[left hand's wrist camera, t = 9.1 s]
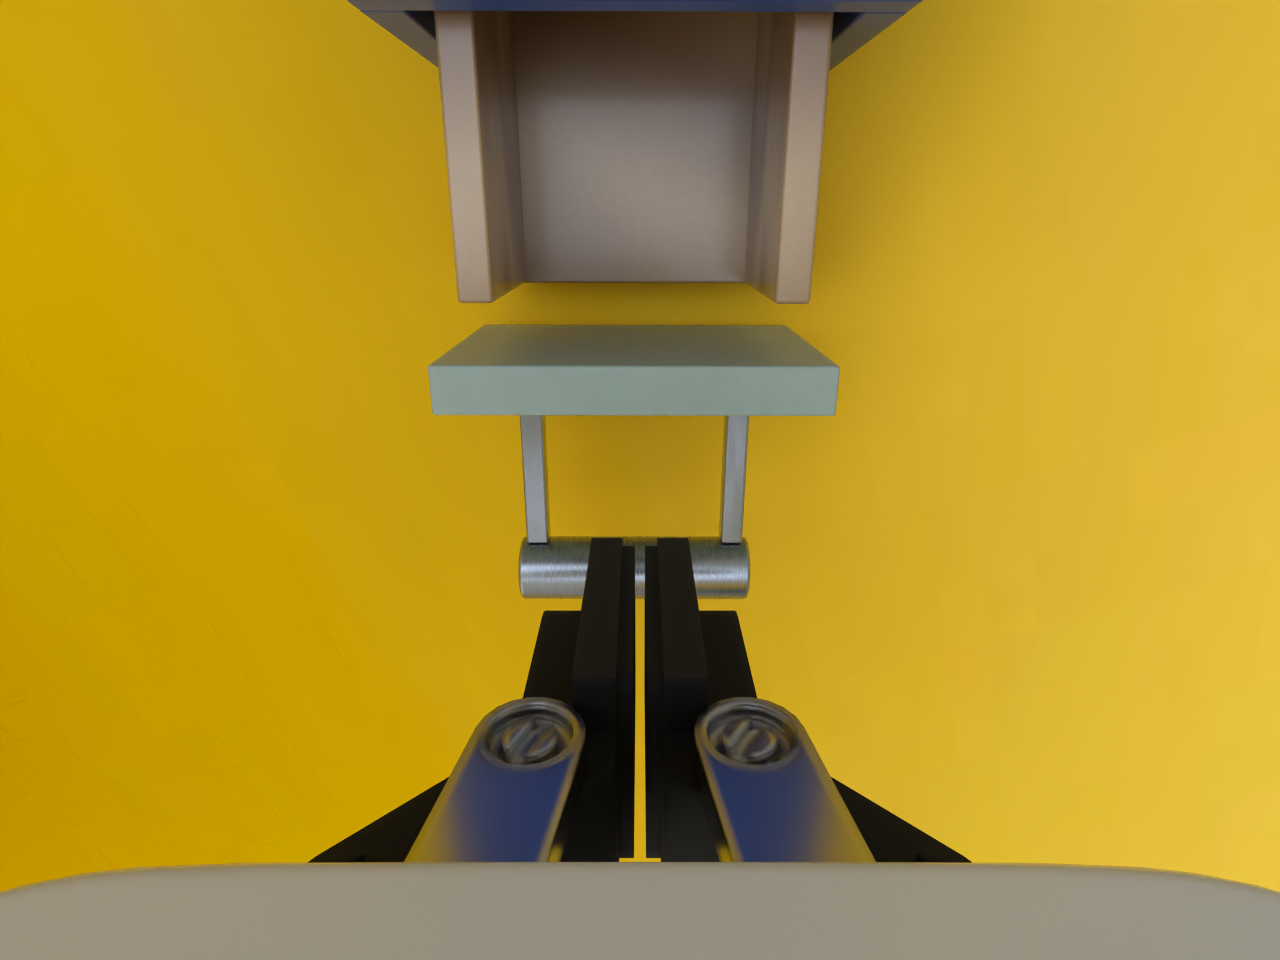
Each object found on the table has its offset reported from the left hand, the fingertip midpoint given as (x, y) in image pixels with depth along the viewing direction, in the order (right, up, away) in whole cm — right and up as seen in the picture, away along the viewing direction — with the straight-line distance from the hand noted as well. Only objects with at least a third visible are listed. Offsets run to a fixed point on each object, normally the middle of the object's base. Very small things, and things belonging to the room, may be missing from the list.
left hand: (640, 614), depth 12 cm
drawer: (0, +9, +9) cm, 13 cm away
